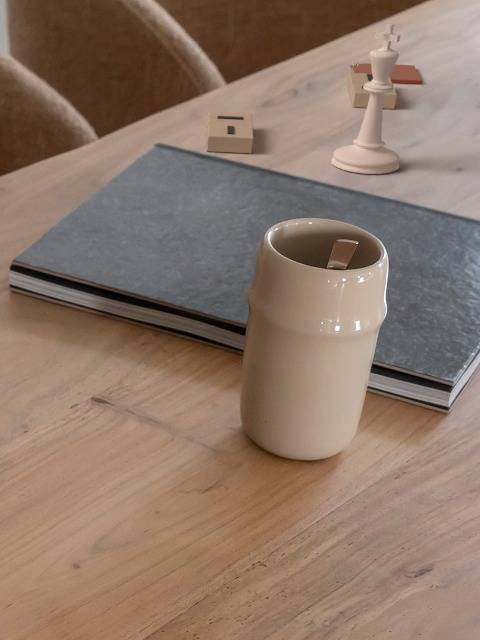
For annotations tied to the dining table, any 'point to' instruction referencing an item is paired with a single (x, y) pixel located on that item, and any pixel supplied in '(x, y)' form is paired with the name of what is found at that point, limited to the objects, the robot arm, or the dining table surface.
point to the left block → (229, 132)
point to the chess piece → (373, 117)
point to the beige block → (362, 96)
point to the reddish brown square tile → (394, 73)
